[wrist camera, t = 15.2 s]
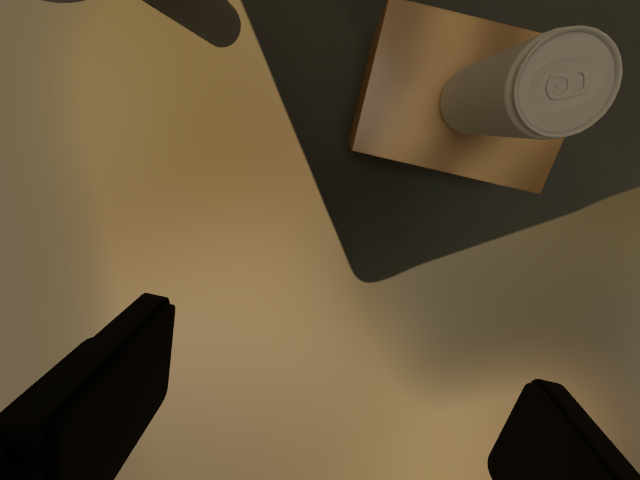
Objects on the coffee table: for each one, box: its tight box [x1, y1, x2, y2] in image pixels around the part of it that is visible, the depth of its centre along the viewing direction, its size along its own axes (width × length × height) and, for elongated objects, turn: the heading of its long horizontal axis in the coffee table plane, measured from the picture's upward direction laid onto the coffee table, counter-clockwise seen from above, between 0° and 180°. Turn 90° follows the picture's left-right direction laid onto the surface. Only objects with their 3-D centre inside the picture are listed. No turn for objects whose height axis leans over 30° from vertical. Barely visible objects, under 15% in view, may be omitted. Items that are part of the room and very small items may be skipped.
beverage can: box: [440, 25, 623, 140], centre depth 21 cm, size 5×5×12 cm
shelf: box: [348, 0, 565, 194], centre depth 33 cm, size 16×11×12 cm
